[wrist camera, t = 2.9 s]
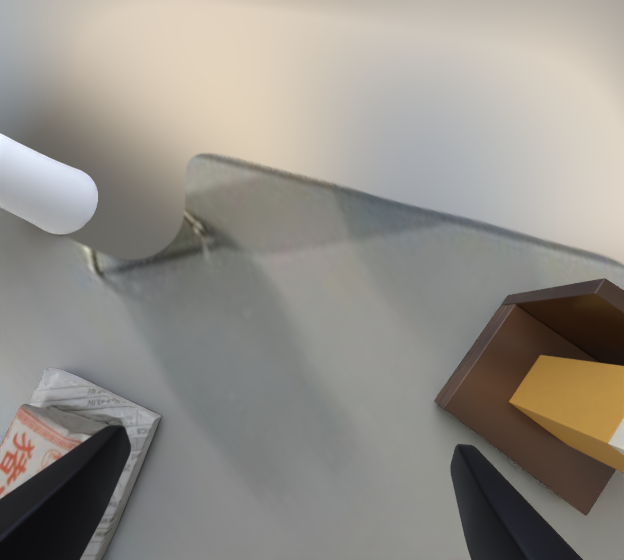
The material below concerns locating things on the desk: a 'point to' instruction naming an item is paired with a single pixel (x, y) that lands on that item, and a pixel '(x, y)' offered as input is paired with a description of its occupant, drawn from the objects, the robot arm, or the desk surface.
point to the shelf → (516, 365)
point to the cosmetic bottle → (44, 189)
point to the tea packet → (577, 405)
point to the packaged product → (74, 439)
